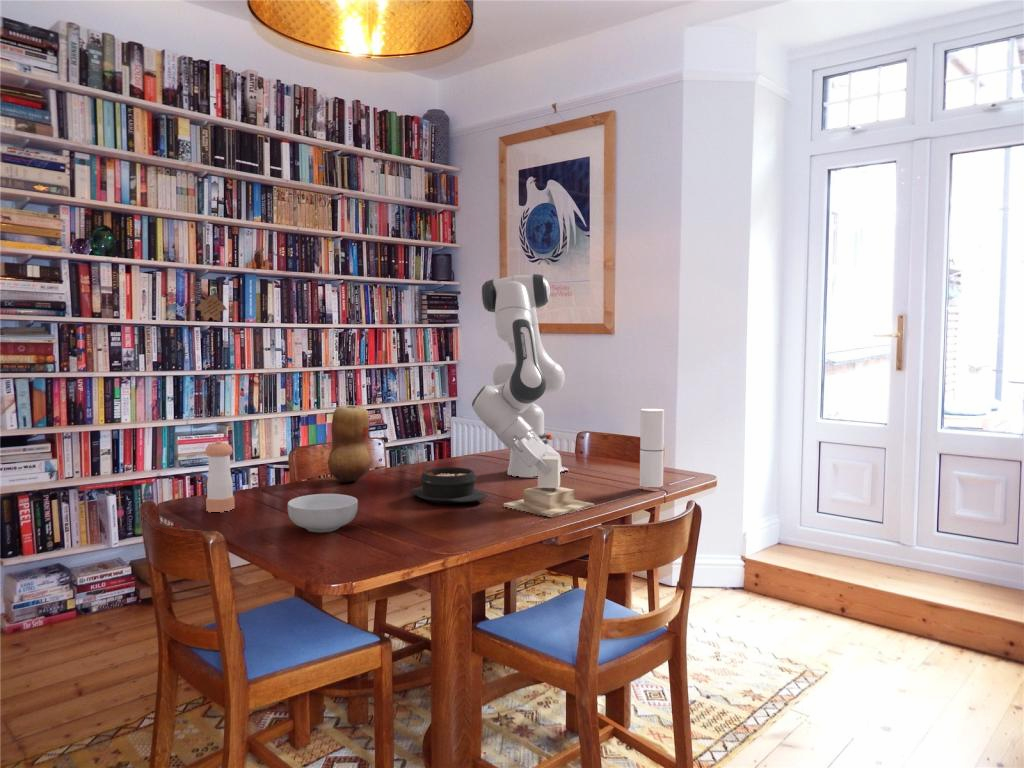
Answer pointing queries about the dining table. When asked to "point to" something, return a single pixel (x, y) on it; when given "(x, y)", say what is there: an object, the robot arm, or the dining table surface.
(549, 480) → the upright ivory block
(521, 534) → the dining table surface
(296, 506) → the cereal bowl
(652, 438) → the cylindrical container
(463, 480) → the casserole
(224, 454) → the salt shaker
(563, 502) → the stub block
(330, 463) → the butternut squash
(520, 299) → the robot arm
